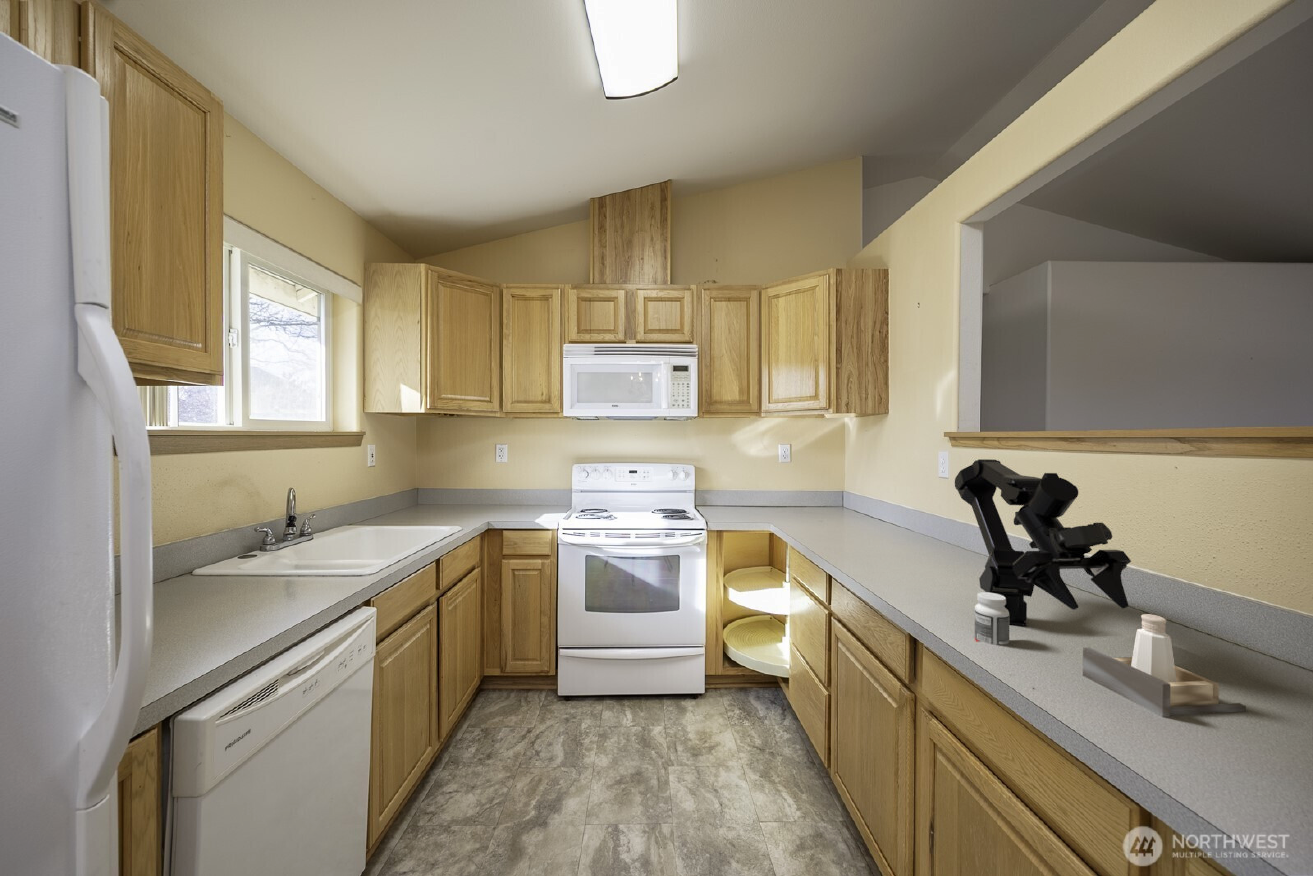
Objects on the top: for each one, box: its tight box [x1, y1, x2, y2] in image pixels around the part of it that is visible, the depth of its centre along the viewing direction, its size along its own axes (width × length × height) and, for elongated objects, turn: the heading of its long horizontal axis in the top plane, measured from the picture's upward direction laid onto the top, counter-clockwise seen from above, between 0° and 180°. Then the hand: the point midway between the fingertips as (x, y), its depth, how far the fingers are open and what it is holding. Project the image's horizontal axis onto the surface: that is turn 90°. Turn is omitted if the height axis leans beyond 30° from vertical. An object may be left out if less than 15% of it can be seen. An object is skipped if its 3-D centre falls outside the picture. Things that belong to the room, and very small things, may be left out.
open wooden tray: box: [1082, 646, 1247, 718], centre depth 79 cm, size 16×16×6 cm
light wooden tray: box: [1113, 656, 1220, 707], centre depth 77 cm, size 9×9×4 cm
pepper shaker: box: [1131, 613, 1177, 683], centre depth 77 cm, size 5×5×11 cm
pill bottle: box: [974, 591, 1010, 646], centre depth 97 cm, size 6×6×10 cm
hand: (1101, 608), depth 84 cm, fingers open, 9 cm apart
